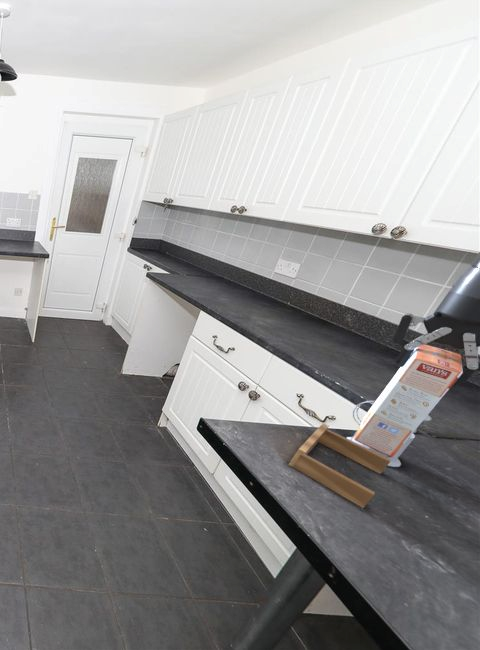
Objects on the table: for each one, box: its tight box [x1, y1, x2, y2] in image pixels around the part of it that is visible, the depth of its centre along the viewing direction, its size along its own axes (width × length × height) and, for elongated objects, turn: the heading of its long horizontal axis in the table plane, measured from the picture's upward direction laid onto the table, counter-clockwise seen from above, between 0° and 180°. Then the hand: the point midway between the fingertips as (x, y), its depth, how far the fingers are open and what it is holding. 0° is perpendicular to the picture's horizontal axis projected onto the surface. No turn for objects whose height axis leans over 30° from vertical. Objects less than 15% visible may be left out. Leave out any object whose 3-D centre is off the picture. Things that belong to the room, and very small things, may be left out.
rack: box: [288, 422, 391, 509], centre depth 77 cm, size 19×12×5 cm, turn 122°
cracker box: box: [354, 344, 463, 457], centre depth 68 cm, size 14×6×21 cm, turn 125°
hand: (425, 374), depth 65 cm, fingers closed on cracker box, 6 cm apart
